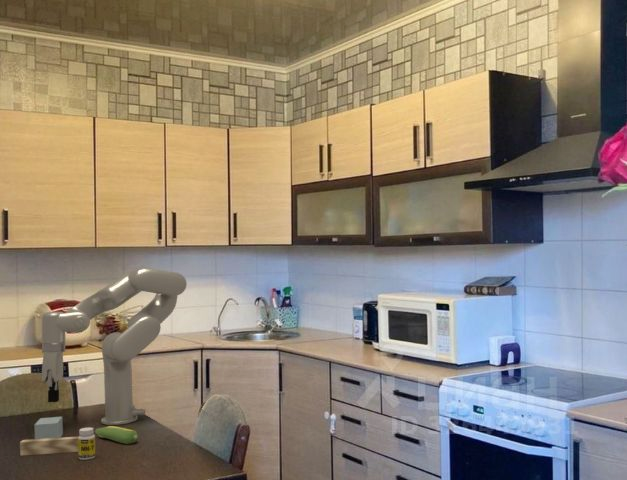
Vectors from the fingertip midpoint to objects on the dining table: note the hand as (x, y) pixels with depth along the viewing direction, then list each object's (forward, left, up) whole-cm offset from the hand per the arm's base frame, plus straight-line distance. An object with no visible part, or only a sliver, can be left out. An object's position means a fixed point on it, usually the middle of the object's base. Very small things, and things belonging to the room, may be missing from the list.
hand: (53, 401), depth 233 cm
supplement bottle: (-18, +34, -10) cm, 40 cm away
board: (-7, +26, -10) cm, 29 cm away
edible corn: (-24, +16, -11) cm, 31 cm away
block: (-1, +9, -10) cm, 14 cm away
